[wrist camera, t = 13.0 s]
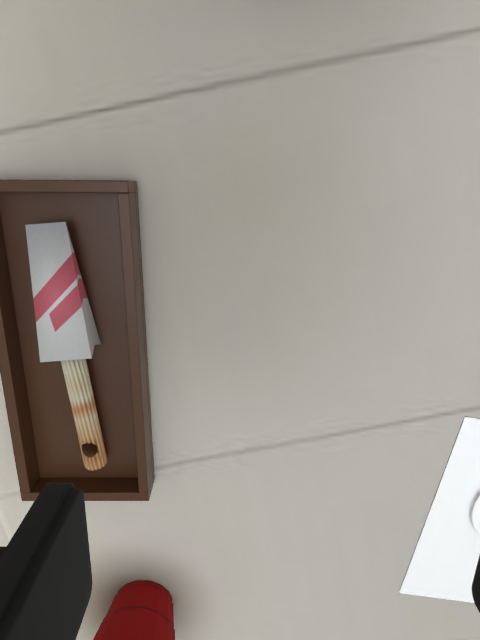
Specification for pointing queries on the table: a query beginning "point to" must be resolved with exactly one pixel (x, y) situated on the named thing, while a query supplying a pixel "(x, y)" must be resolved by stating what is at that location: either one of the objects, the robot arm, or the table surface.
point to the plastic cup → (139, 614)
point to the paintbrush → (66, 327)
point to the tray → (108, 358)
